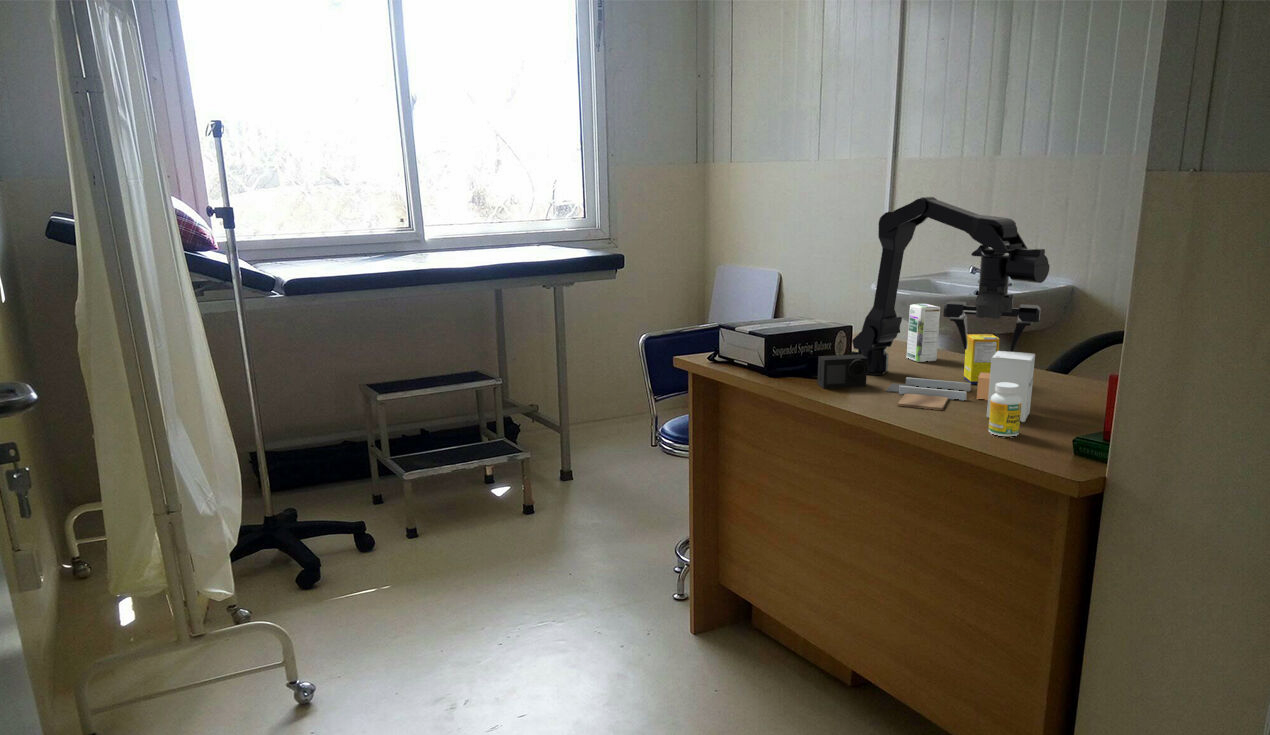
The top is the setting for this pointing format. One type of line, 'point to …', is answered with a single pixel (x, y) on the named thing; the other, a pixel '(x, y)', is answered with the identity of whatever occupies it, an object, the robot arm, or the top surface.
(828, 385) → the digital camera
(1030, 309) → the robot arm
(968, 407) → the top surface
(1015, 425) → the supplement bottle
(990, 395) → the supplement box
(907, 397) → the coaster
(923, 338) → the syrup box
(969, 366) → the supplement box
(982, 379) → the block
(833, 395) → the top surface
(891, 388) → the mat
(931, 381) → the channel
